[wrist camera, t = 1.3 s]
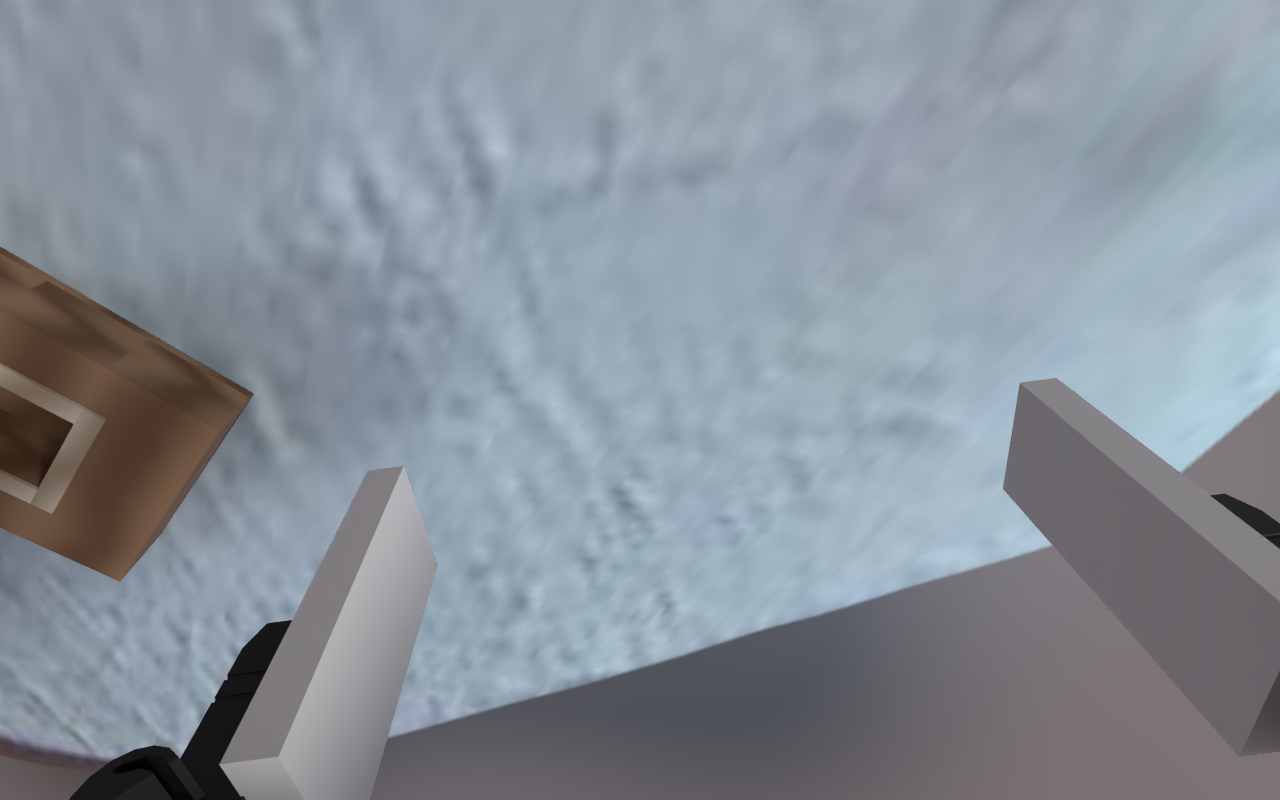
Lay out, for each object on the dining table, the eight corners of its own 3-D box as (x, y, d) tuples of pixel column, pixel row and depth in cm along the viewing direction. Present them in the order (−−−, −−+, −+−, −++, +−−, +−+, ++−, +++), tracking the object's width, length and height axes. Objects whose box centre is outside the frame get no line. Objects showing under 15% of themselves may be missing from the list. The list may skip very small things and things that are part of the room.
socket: (-142, 390, 41) (-223, 430, 37) (-69, 207, 37) (-153, 229, 33) (159, 535, 48) (117, 583, 43) (253, 393, 43) (217, 432, 39)
